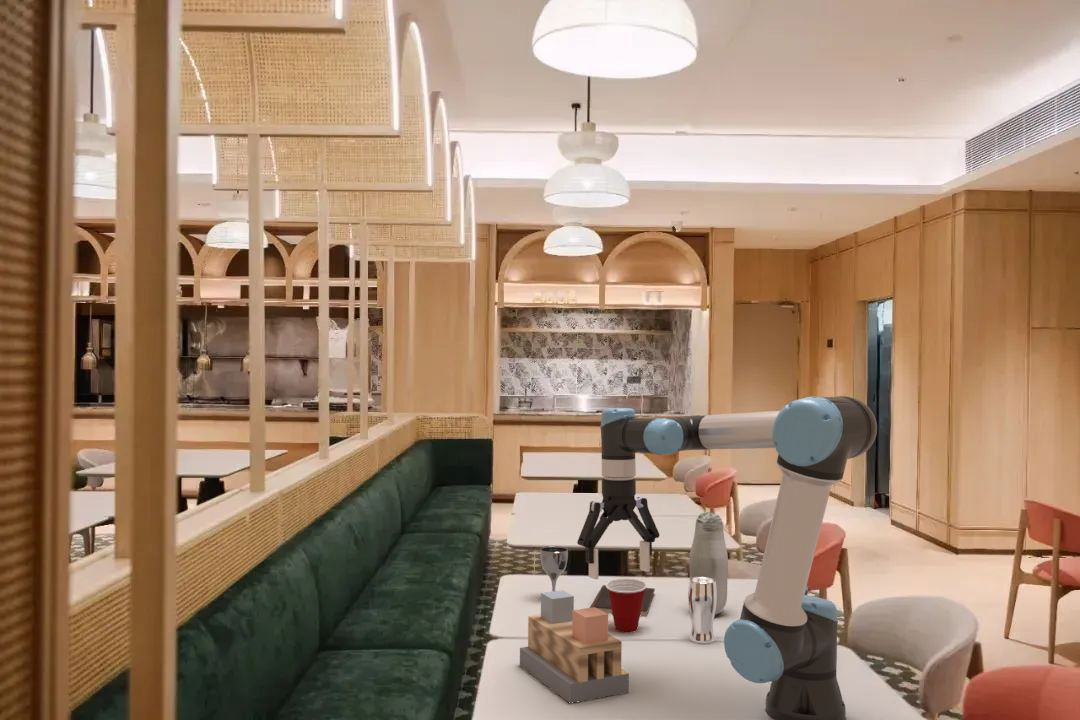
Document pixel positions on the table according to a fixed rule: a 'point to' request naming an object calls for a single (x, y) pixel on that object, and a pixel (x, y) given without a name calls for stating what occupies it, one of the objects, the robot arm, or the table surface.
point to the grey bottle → (710, 554)
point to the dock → (567, 684)
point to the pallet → (573, 650)
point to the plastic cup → (626, 602)
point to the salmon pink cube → (590, 625)
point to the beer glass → (702, 608)
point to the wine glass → (554, 561)
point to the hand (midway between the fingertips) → (619, 574)
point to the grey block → (557, 606)
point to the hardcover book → (604, 602)
